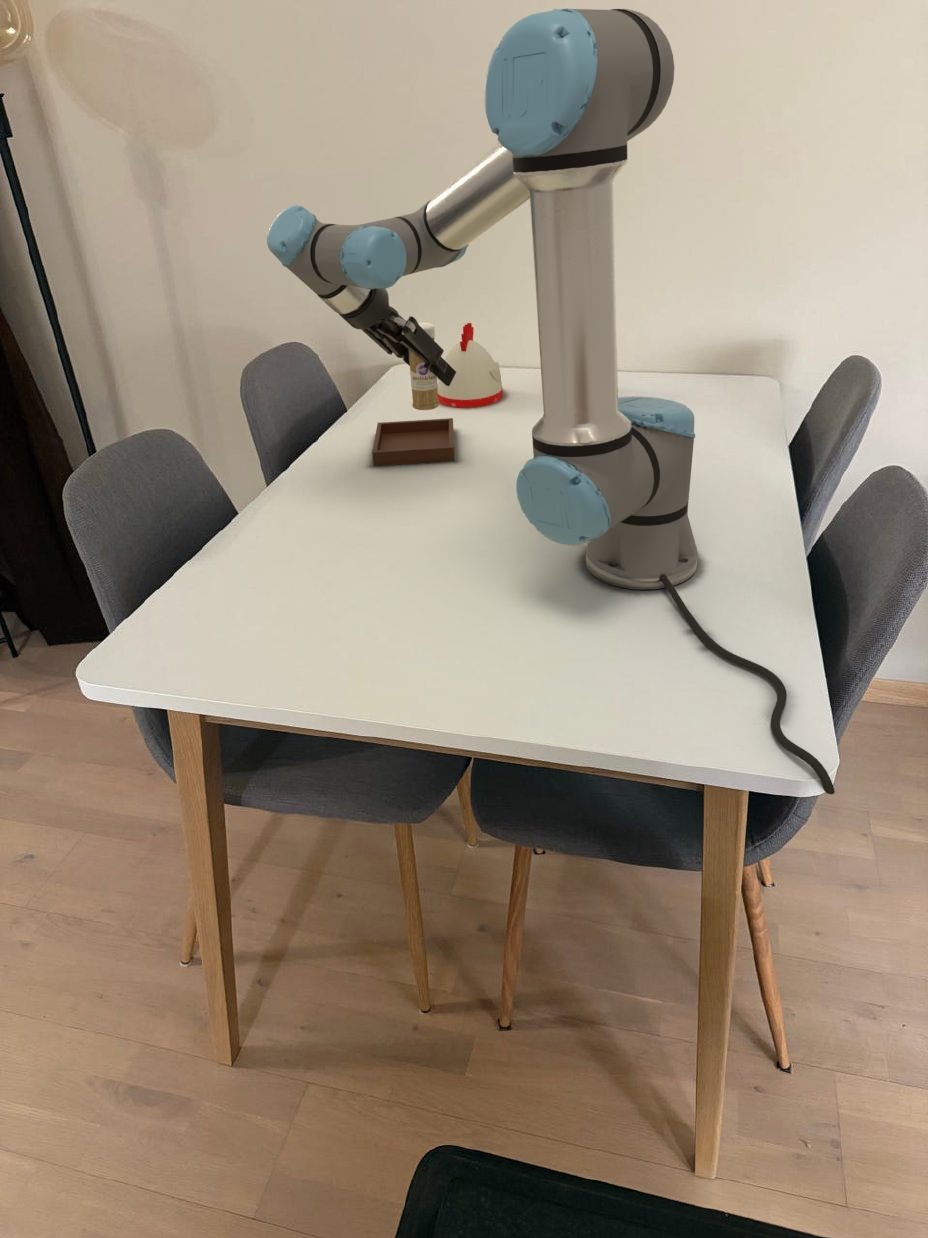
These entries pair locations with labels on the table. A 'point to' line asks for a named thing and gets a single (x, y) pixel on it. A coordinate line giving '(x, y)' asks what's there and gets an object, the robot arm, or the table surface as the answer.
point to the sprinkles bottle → (423, 378)
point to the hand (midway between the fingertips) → (440, 375)
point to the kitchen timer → (471, 375)
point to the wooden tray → (414, 442)
